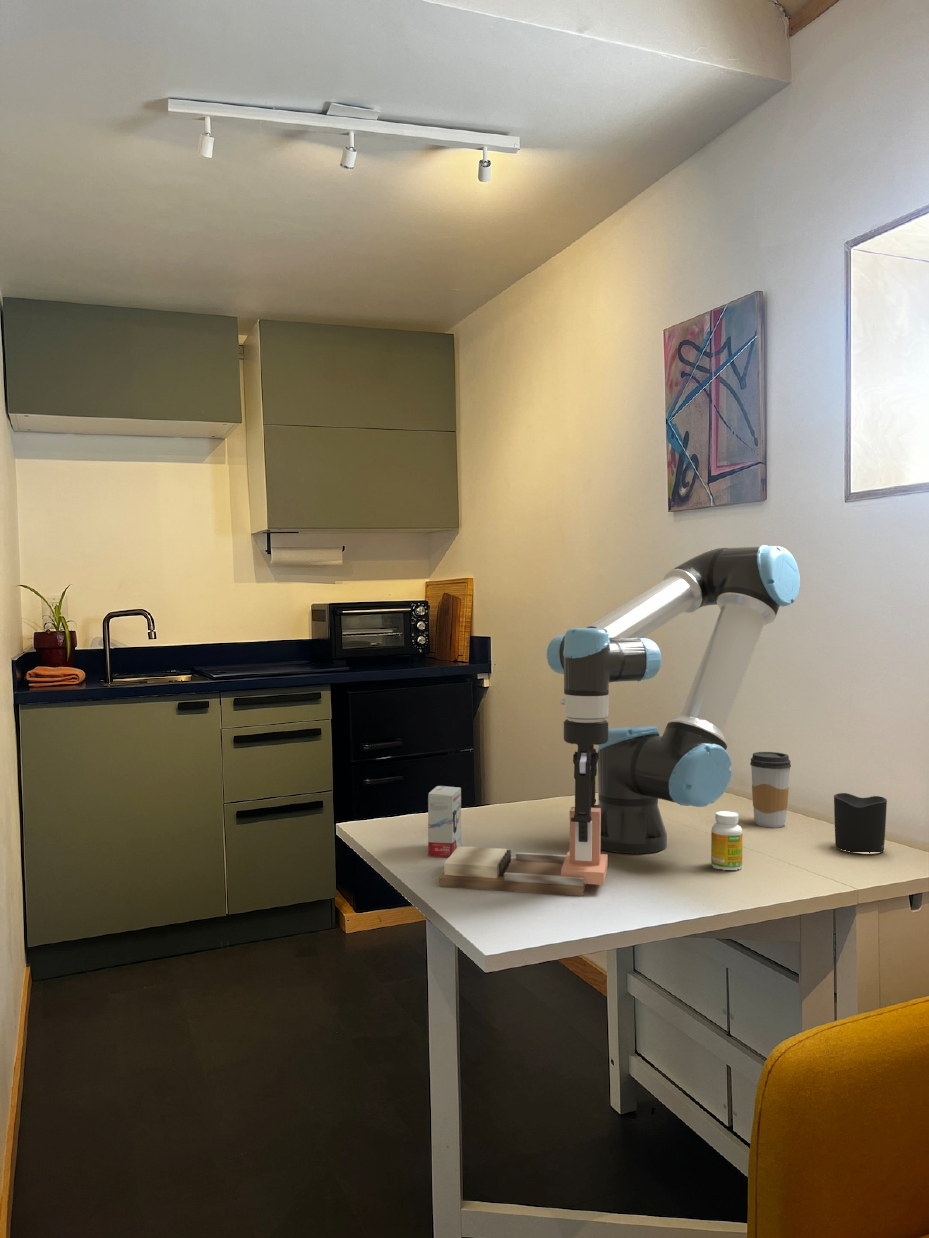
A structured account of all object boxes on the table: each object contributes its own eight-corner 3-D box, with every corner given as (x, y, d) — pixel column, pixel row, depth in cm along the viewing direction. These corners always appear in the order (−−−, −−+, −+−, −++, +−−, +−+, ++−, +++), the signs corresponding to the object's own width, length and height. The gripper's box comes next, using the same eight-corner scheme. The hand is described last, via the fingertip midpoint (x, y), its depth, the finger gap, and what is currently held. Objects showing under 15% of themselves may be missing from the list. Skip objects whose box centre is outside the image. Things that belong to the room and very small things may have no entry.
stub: (607, 865, 163) (608, 803, 163) (603, 884, 152) (604, 817, 152) (567, 863, 165) (567, 801, 164) (561, 881, 154) (561, 815, 154)
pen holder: (859, 857, 174) (860, 804, 174) (822, 845, 183) (823, 794, 183) (897, 852, 178) (898, 800, 178) (859, 840, 186) (860, 791, 186)
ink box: (452, 858, 173) (452, 795, 173) (426, 856, 174) (427, 794, 174) (461, 846, 182) (462, 786, 181) (437, 844, 183) (437, 784, 182)
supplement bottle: (729, 873, 164) (729, 818, 164) (704, 866, 169) (705, 812, 169) (748, 867, 168) (748, 814, 167) (723, 861, 172) (724, 808, 172)
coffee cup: (794, 822, 201) (795, 753, 201) (785, 831, 194) (785, 759, 194) (755, 817, 205) (756, 750, 205) (744, 825, 198) (745, 755, 198)
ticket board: (589, 871, 165) (589, 850, 165) (582, 895, 152) (582, 873, 152) (457, 862, 170) (457, 842, 170) (439, 886, 157) (439, 864, 157)
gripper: (569, 711, 168) (568, 838, 169) (557, 726, 149) (556, 869, 150) (611, 712, 167) (610, 840, 167) (604, 727, 147) (603, 872, 148)
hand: (585, 853), depth 158 cm, fingers open, 7 cm apart
